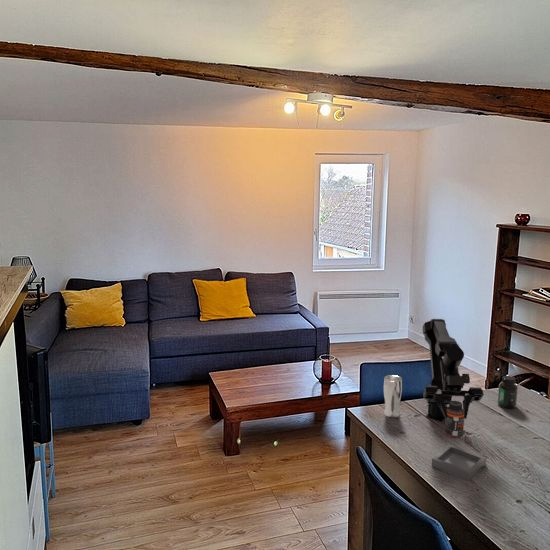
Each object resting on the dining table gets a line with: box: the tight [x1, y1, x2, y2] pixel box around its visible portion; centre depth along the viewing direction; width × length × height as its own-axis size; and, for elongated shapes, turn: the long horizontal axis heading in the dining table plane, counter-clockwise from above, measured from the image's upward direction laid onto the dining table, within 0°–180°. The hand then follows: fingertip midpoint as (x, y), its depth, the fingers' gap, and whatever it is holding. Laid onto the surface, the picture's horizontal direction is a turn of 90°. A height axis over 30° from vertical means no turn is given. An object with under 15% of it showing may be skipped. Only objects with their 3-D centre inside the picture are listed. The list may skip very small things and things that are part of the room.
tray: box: [431, 444, 487, 482], centre depth 161 cm, size 12×12×2 cm
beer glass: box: [383, 374, 403, 419], centre depth 197 cm, size 7×7×15 cm
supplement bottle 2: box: [497, 375, 519, 410], centre depth 205 cm, size 7×7×12 cm
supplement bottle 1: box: [444, 400, 465, 439], centre depth 168 cm, size 6×6×11 cm
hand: (455, 417), depth 166 cm, fingers closed on supplement bottle 1, 6 cm apart
